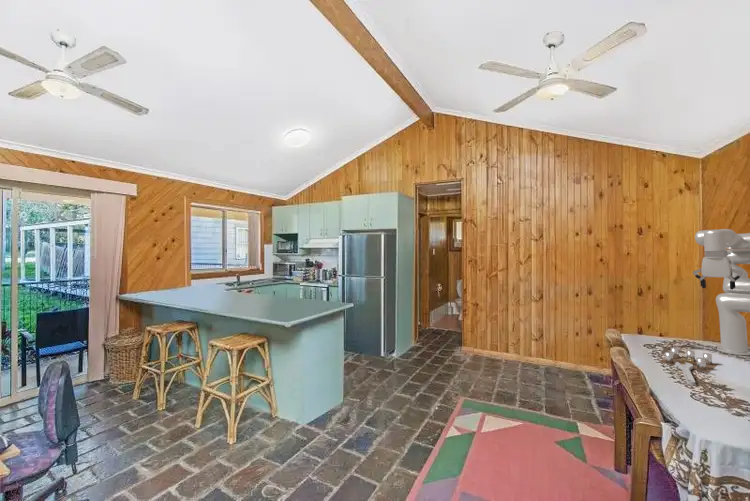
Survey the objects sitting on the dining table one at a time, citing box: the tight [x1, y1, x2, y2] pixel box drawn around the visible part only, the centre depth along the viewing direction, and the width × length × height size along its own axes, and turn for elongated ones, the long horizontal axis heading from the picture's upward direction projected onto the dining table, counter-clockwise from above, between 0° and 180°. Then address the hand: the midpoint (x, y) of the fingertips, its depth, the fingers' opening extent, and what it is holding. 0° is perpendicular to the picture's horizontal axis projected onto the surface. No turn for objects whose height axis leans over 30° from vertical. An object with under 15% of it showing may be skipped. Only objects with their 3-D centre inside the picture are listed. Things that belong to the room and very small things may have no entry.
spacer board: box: [658, 356, 719, 373], centre depth 157 cm, size 16×18×1 cm
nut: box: [681, 357, 694, 365], centre depth 157 cm, size 4×5×2 cm
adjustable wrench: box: [674, 362, 696, 386], centre depth 145 cm, size 25×6×2 cm, turn 137°
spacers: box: [664, 347, 713, 371], centre depth 157 cm, size 13×15×5 cm
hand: (717, 288), depth 157 cm, fingers open, 9 cm apart
